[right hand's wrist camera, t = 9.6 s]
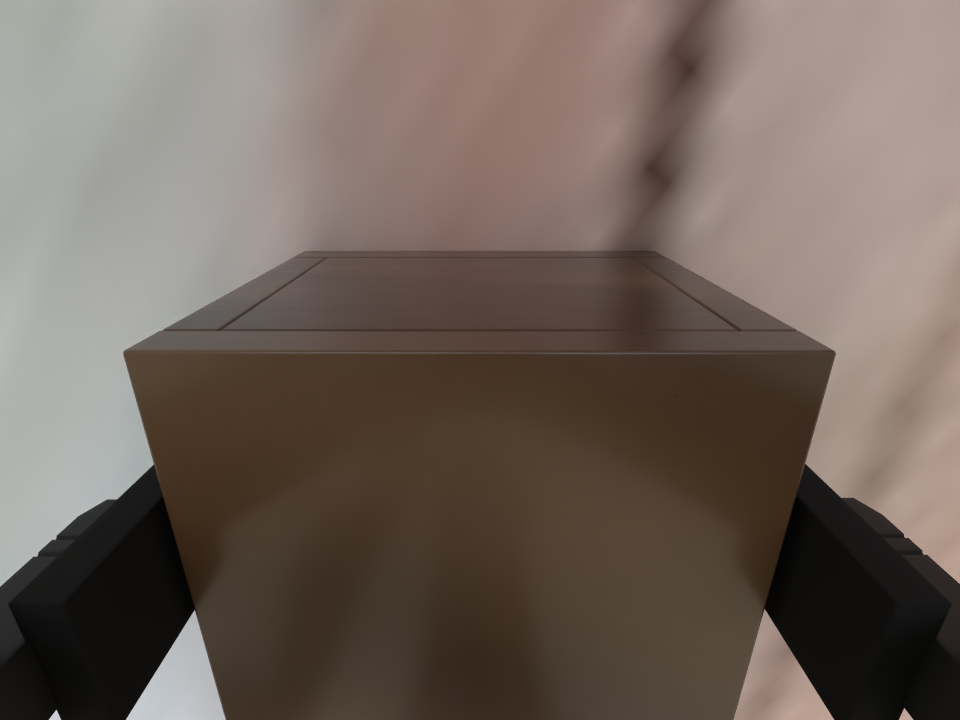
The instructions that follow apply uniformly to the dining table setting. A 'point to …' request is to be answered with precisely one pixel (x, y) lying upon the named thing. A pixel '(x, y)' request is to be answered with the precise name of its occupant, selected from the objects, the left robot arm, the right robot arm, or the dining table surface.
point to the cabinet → (479, 483)
